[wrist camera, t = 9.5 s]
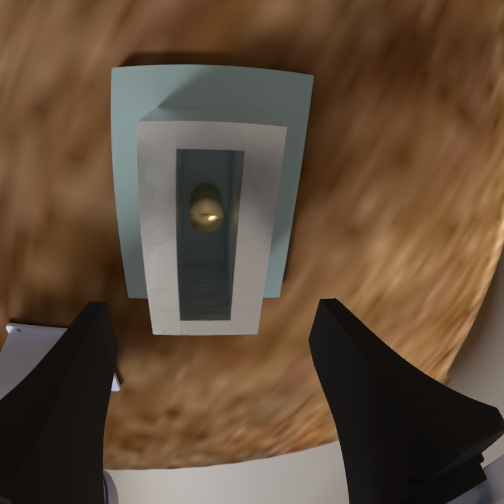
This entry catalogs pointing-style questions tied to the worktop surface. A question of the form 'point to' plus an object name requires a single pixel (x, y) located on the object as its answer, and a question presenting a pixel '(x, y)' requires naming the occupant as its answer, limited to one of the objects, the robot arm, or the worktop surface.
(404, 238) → the worktop surface
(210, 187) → the locating pin
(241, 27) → the worktop surface
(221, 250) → the board
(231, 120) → the block
